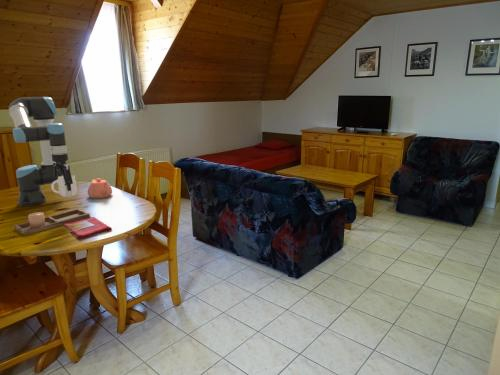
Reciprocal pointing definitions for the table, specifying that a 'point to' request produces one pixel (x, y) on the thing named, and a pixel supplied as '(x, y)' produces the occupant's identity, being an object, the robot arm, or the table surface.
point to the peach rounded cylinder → (36, 220)
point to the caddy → (54, 221)
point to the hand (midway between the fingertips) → (65, 194)
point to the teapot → (99, 189)
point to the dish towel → (89, 228)
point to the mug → (62, 186)
